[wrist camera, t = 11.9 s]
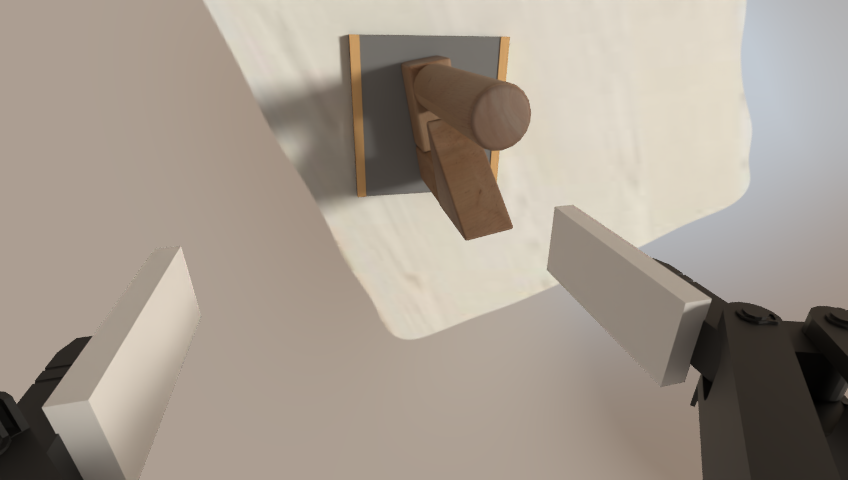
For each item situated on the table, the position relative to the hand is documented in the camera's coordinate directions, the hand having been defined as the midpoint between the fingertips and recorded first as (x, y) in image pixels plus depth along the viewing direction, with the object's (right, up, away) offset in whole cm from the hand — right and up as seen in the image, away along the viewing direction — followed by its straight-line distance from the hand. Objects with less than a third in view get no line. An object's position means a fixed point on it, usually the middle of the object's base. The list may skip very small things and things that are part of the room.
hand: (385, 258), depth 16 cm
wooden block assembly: (+2, +12, +25) cm, 27 cm away
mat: (+2, +12, +25) cm, 28 cm away
